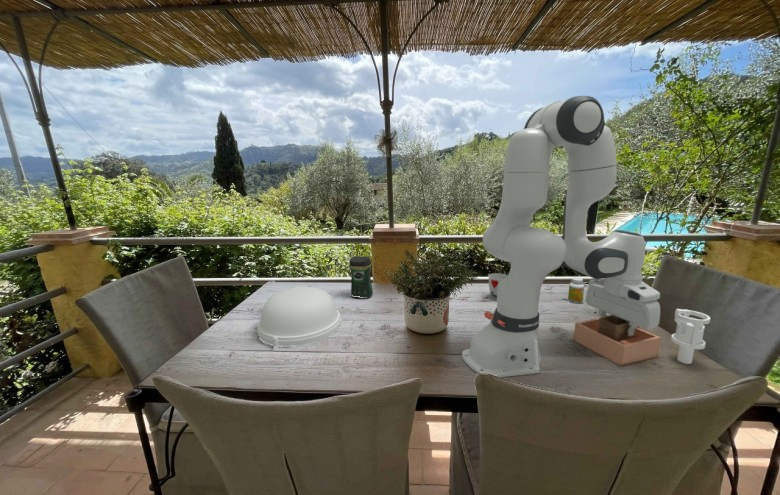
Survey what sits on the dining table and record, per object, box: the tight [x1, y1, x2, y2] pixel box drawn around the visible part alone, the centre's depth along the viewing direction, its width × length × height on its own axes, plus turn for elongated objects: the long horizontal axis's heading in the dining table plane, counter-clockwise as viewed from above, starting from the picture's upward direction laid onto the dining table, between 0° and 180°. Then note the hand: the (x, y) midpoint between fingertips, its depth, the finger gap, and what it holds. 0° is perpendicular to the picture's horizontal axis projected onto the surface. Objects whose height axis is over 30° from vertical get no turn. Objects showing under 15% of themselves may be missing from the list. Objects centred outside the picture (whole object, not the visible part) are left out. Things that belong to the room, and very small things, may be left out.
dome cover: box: [256, 286, 343, 346], centre depth 120 cm, size 32×30×14 cm
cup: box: [488, 272, 508, 301], centre depth 142 cm, size 8×8×10 cm
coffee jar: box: [348, 255, 374, 298], centre depth 149 cm, size 10×8×19 cm
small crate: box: [597, 314, 637, 342], centre depth 99 cm, size 8×6×5 cm
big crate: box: [573, 317, 662, 367], centre depth 100 cm, size 14×16×6 cm
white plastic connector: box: [670, 308, 711, 365], centre depth 91 cm, size 7×7×15 cm
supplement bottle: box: [567, 276, 585, 304], centre depth 136 cm, size 5×5×10 cm
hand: (616, 329), depth 99 cm, fingers closed on small crate, 6 cm apart
